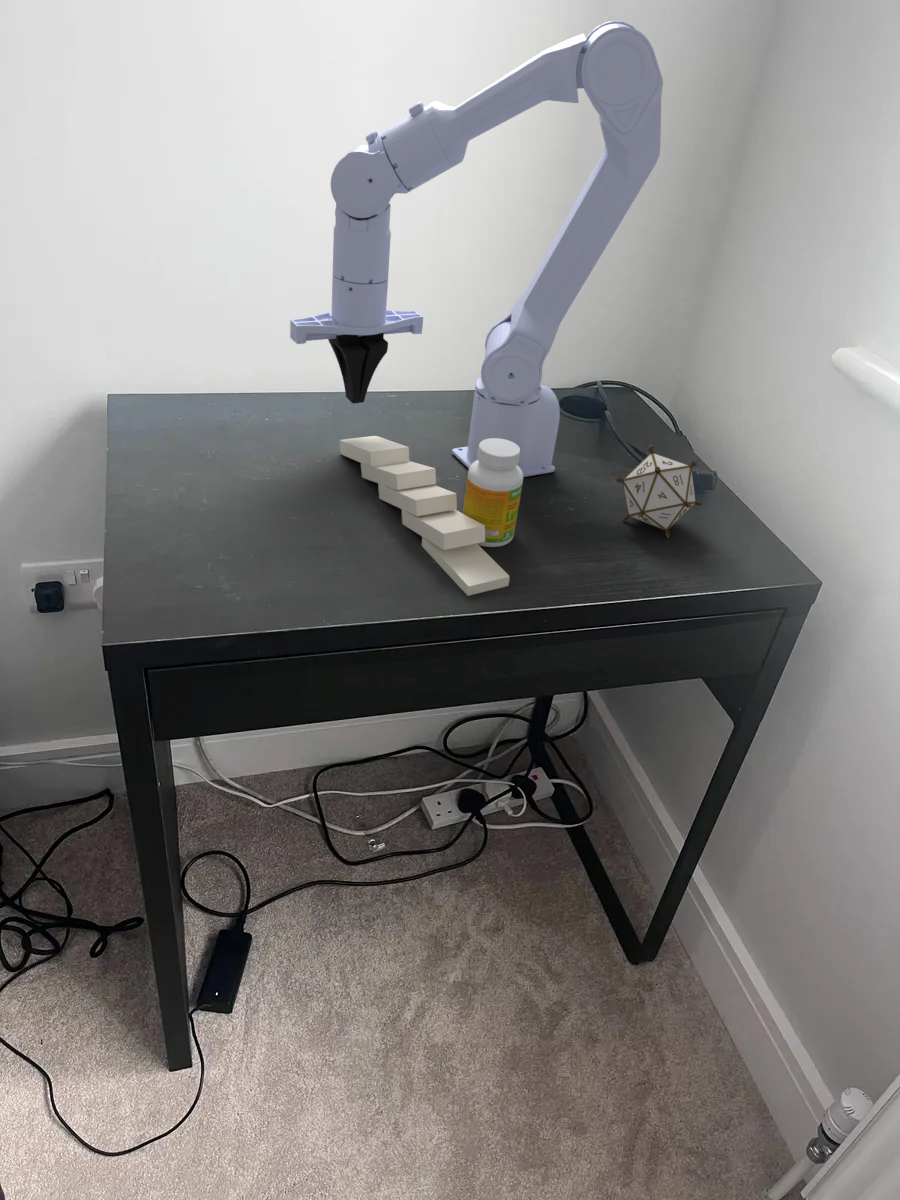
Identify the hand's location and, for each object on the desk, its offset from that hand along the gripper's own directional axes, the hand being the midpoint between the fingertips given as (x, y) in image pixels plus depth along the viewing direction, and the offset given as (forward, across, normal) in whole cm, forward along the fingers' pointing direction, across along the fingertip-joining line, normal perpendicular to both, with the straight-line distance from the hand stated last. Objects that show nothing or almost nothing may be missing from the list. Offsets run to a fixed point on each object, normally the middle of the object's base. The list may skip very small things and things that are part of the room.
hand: (354, 399), depth 102 cm
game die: (+6, -23, +26) cm, 35 cm away
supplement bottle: (+6, -5, +22) cm, 23 cm away
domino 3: (+5, 0, +12) cm, 13 cm away
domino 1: (+5, 0, +2) cm, 5 cm away
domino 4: (+5, 0, +17) cm, 18 cm away
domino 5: (+5, 0, +22) cm, 22 cm away
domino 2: (+5, 0, +7) cm, 9 cm away
